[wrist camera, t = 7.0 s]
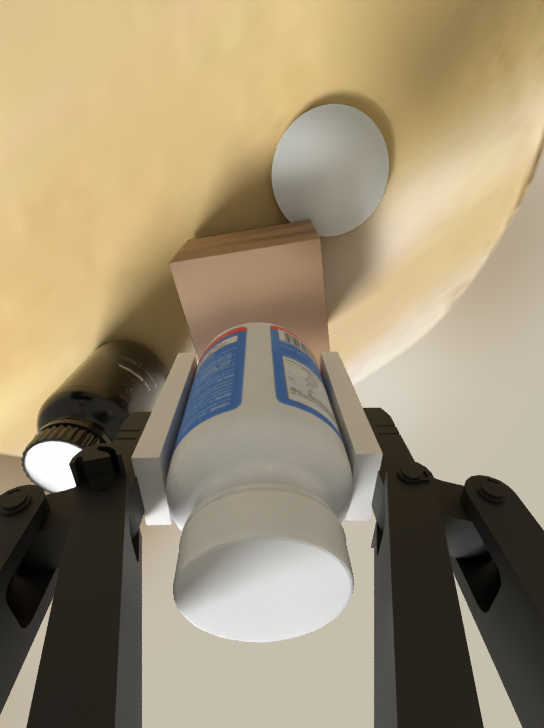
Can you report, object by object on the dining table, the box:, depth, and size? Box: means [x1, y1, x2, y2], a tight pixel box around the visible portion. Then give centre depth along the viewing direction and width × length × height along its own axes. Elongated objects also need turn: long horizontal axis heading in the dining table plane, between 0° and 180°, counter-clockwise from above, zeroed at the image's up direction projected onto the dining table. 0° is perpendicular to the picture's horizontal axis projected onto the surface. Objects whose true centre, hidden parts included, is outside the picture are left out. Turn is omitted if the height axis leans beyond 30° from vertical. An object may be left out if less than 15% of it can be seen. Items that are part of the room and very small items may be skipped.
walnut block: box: [169, 220, 330, 368], centre depth 26 cm, size 9×9×6 cm
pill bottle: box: [166, 322, 354, 642], centre depth 12 cm, size 6×5×10 cm
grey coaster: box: [271, 104, 389, 237], centre depth 25 cm, size 8×8×1 cm
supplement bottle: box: [21, 341, 166, 494], centre depth 27 cm, size 7×7×12 cm
